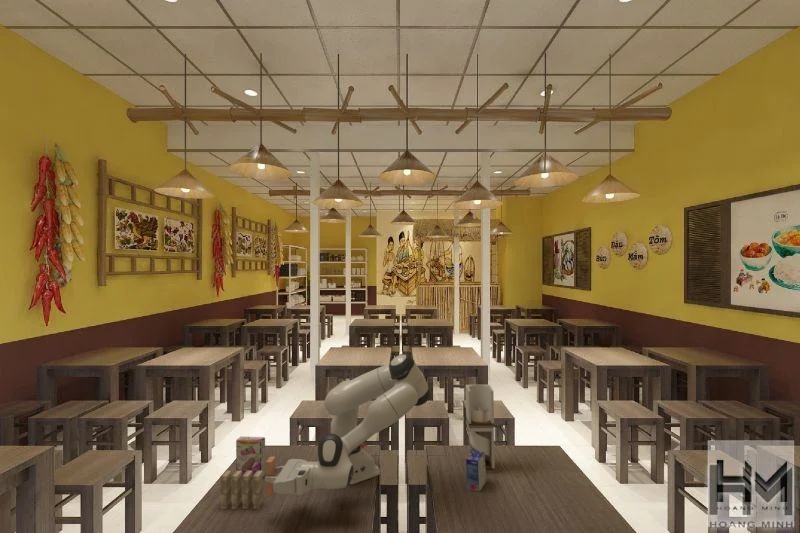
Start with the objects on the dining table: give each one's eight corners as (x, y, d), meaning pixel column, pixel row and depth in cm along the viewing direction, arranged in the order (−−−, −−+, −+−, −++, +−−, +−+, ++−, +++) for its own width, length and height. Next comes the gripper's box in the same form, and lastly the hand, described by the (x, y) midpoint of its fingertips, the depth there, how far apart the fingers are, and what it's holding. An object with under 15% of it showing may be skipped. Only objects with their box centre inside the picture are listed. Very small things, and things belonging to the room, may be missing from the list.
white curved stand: (466, 462, 215) (465, 384, 215) (490, 462, 215) (489, 384, 215) (469, 473, 204) (468, 391, 204) (494, 473, 203) (493, 391, 204)
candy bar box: (235, 479, 201) (235, 440, 201) (240, 473, 206) (240, 435, 206) (261, 479, 200) (260, 440, 200) (266, 474, 205) (265, 436, 205)
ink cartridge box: (473, 479, 198) (472, 444, 198) (486, 481, 196) (485, 446, 196) (466, 489, 189) (465, 452, 189) (479, 492, 187) (479, 454, 187)
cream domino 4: (262, 502, 181) (262, 470, 181) (258, 508, 176) (258, 476, 176) (257, 502, 181) (257, 470, 181) (253, 508, 176) (252, 476, 176)
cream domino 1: (231, 502, 181) (231, 470, 181) (226, 508, 176) (226, 476, 176) (226, 502, 181) (226, 470, 181) (221, 508, 176) (220, 476, 176)
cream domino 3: (252, 502, 181) (252, 470, 181) (248, 508, 176) (247, 476, 176) (247, 502, 181) (247, 470, 181) (242, 508, 176) (242, 476, 176)
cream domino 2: (242, 502, 181) (241, 470, 181) (237, 508, 176) (236, 476, 176) (237, 502, 181) (236, 470, 181) (231, 508, 176) (231, 476, 176)
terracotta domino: (275, 489, 172) (275, 456, 172) (271, 496, 167) (271, 462, 167) (270, 489, 172) (270, 456, 172) (265, 496, 167) (265, 462, 167)
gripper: (313, 454, 179) (277, 454, 180) (299, 478, 159) (258, 478, 159) (313, 471, 179) (277, 471, 180) (299, 497, 159) (258, 497, 159)
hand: (268, 474), depth 169 cm, fingers closed on terracotta domino, 5 cm apart
